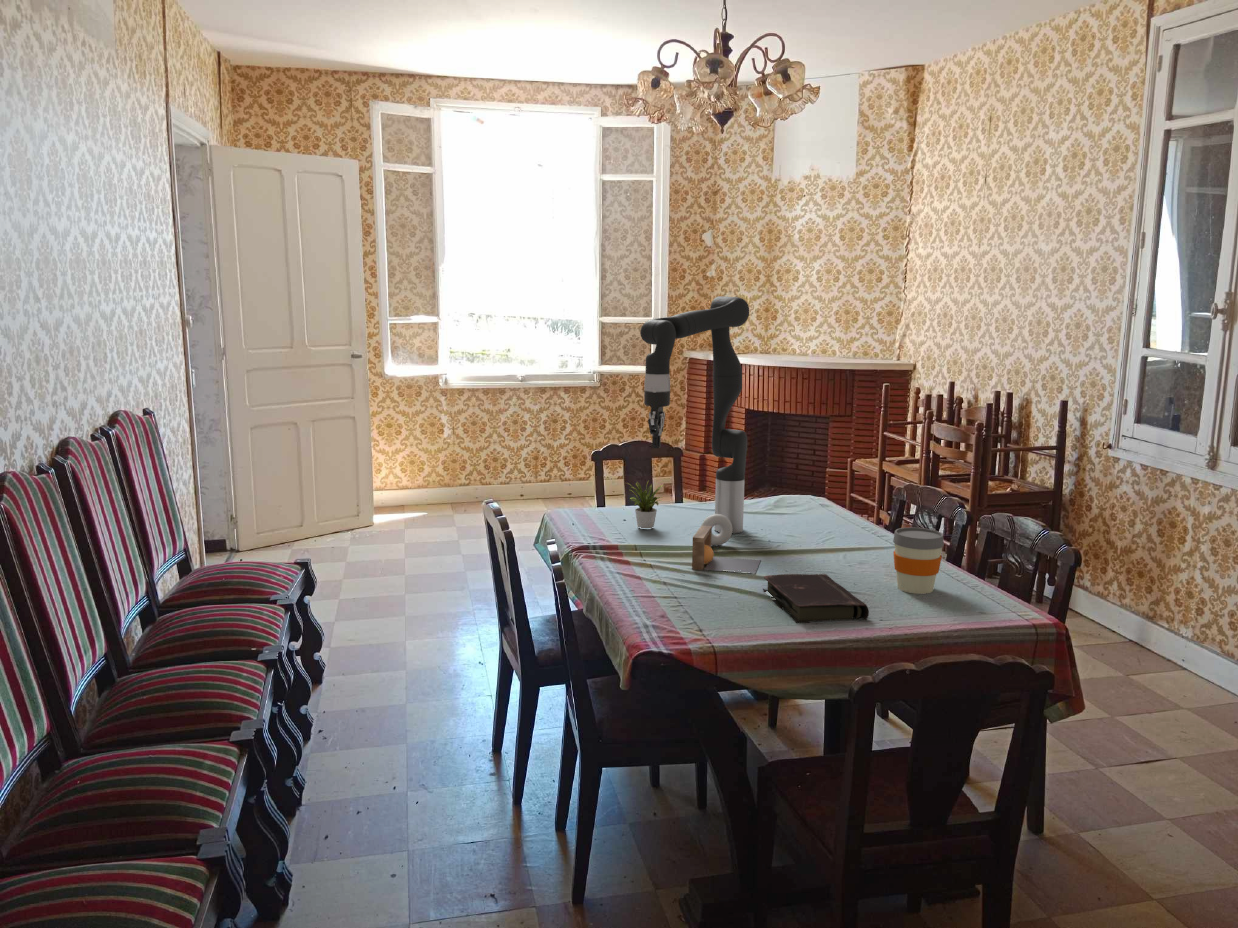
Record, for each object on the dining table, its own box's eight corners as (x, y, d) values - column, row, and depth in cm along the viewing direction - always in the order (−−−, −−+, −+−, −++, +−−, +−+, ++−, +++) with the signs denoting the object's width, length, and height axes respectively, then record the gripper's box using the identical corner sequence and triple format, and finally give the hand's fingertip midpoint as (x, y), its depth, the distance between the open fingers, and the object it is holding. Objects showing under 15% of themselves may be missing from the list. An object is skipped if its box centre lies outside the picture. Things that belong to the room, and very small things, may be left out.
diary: (827, 591, 245) (828, 572, 244) (868, 623, 220) (869, 603, 220) (759, 593, 242) (760, 574, 241) (793, 626, 217) (794, 605, 216)
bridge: (691, 569, 260) (692, 537, 259) (700, 555, 274) (701, 525, 272) (702, 570, 259) (703, 538, 258) (710, 556, 273) (711, 526, 272)
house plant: (614, 531, 302) (615, 481, 299) (626, 521, 315) (627, 474, 312) (657, 534, 298) (658, 484, 295) (667, 525, 311) (668, 477, 308)
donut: (701, 547, 283) (702, 515, 281) (698, 544, 286) (699, 513, 285) (733, 546, 285) (734, 514, 283) (730, 543, 288) (731, 512, 286)
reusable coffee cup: (907, 597, 237) (911, 540, 234) (881, 583, 249) (884, 528, 246) (950, 593, 240) (954, 537, 238) (922, 579, 252) (926, 525, 250)
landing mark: (712, 557, 273) (712, 556, 273) (760, 560, 269) (760, 560, 269) (704, 570, 260) (704, 569, 260) (755, 574, 256) (755, 573, 256)
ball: (716, 544, 267) (715, 563, 267) (698, 541, 269) (697, 560, 269) (710, 547, 262) (709, 567, 262) (692, 545, 264) (690, 564, 264)
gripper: (649, 387, 279) (648, 444, 282) (639, 391, 266) (638, 450, 269) (674, 387, 277) (673, 445, 280) (665, 391, 265) (664, 452, 268)
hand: (656, 447), depth 275 cm, fingers closed
